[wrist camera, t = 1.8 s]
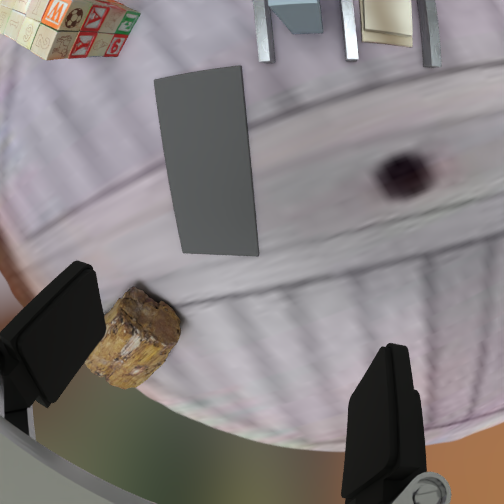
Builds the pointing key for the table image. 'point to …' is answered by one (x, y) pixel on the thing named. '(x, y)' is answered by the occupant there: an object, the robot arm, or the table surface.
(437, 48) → the rack
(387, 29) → the offcut upper
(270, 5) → the panel
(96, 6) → the stack of blocks
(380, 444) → the robot arm
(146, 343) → the petrified wood
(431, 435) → the table surface
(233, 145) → the mat
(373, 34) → the offcut lower
